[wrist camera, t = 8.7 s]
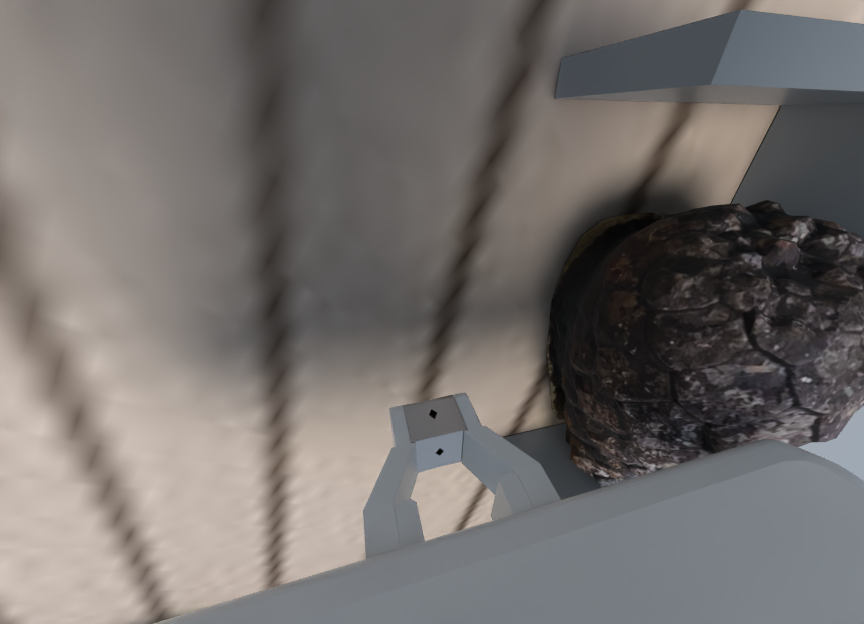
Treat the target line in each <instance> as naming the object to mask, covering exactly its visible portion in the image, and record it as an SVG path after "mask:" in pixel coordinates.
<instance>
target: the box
mask: <svg viewBox="0 0 864 624" xmlns="http://www.w3.org/2000/svg"><path fill="white" fill-rule="evenodd" d="M554 99H585V100H619V101H653V102H687V103H721V104H755V105H782V106H781V108H780V110H779V112H778V114H777V116H776V118H775V119H774V121H773V123H772V125H771V127H770V129H769V131H768V133H767V135H766V137H765V139H764V141H763V143H762V145H761V147H760V149H759V150H758V152H757V154H756V156H755V158H754V160H753V162H752V164H751V166H750V168H749V170H748V172H747V174H746V176H745V178H744V180H743V181H742V183H741V185H740V187H739V189H738V191H737V193H736V195H735V197H734V199H733V201H732V203H731V204H737V203H739V204H740V205H742V206H743V207H747V206H750V205H753V204H756V203H758V202H761V201H765V200H769V201H773V202H776V203H780V205H781V206H782V208H783V209H784V211H785V212H786V214H788V215H791V216H810V217H811V218H812V219H821V220H826V221H831V222H836V223H837V224H839V225H841V226H843V227H844V228H845V229H846V231H847V232H852V233H856V234H857V235H859V236H860V237H861V238H862V239H864V24H859V23H850V22H842V21H833V20H825V19H816V18H808V17H799V16H791V15H782V14H774V13H765V12H757V11H748V10H738V11H734V12H730V13H727V14H723V15H719V16H715V17H712V18H708V19H704V20H701V21H697V22H693V23H690V24H686V25H682V26H679V27H675V28H671V29H667V30H664V31H660V32H656V33H653V34H649V35H645V36H642V37H638V38H634V39H630V40H627V41H623V42H619V43H616V44H612V45H608V46H605V47H601V48H597V49H593V50H590V51H586V52H582V53H579V54H575V55H571V56H568V57H564V58H562V60H561V66H560V71H559V77H558V82H557V88H556V93H555V98H554ZM565 432H566V423H563V424H559V425H555V426H550V427H546V428H542V429H537V430H533V431H529V432H524V433H520V434H516V435H512V436H507V437H503V438H504V439H505V440H507V441H508V442H510V443H511V444H513V445H514V446H515V447H517V448H518V449H520V450H521V451H523V452H524V453H526V454H527V455H528V456H530V457H531V458H533V459H534V460H536V461H537V462H539V463H540V464H541V466H542V468H543V469H544V471H545V473H546V475H547V476H548V478H549V480H550V482H551V483H552V485H553V487H554V488H555V490H556V492H557V494H558V495H559V497H560V499H561V500H563V499H566V498H569V497H573V496H576V495H579V494H583V493H586V492H589V491H593V490H596V489H599V488H601V487H600V485H599V484H598V483H597V481H596V480H595V479H594V477H592V476H590V475H588V474H587V473H585V472H584V471H582V470H581V469H579V468H578V467H577V466H576V465H575V464H574V463H573V462H572V461H571V460H570V452H571V447H570V445H569V444H568V443H567V442H566V434H565Z"/></svg>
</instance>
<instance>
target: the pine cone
mask: <svg viewBox="0 0 864 624" xmlns="http://www.w3.org/2000/svg"><path fill="white" fill-rule="evenodd" d="M547 362H548V370H549V381H550V393H551V402H552V410H553V411H554V412H555V413H557V417H558V418H559V419H564V420H565V423H566V432H565V434H566V442H567V443H568V444H569V445H570V447H571V452H570V460H571V461H572V462H573V463H574V464H575V465H576V466H577V467H578V468H579V469H581V470H582V471H584V472H585V473H587V474H588V475H590V476H592V477H594V479H595V480H596V481H597V483H598V484H599V485H600V487H601V488H603V487H606V486H609V485H612V484H616V483H619V482H622V481H626V480H629V479H632V478H636V477H639V476H642V475H645V474H649V473H652V472H655V471H659V470H662V469H665V468H668V467H672V466H675V465H678V464H682V463H685V462H688V461H692V460H695V459H698V458H701V457H705V456H708V455H711V454H715V453H718V452H721V451H725V450H728V449H731V448H735V447H738V446H741V445H744V444H748V443H751V442H754V441H757V440H762V439H776V440H779V441H782V442H785V443H788V444H790V445H793V446H795V447H799V446H803V445H805V444H808V443H810V442H826V441H829V440H832V439H834V438H837V436H838V435H839V434H840V432H841V431H842V430H843V428H844V427H845V425H846V424H847V423H848V421H849V420H850V418H851V417H852V416H853V414H854V413H855V412H856V411H857V410H859V409H860V408H861V407H863V406H864V239H862V238H861V237H860V236H859V235H857V234H856V233H852V232H847V231H846V229H845V228H844V227H843V226H841V225H839V224H837V223H836V222H831V221H826V220H821V219H812V218H811V217H810V216H791V215H788V214H786V212H785V211H784V209H783V208H782V206H781V205H780V203H776V202H773V201H769V200H765V201H761V202H758V203H756V204H753V205H750V206H747V207H743V206H742V205H740V204H739V203H737V204H726V205H716V206H708V207H702V208H697V209H692V210H689V211H687V212H683V213H676V214H670V215H666V216H664V217H663V218H661V217H660V216H658V215H656V214H654V213H638V214H627V215H619V216H616V217H612V218H609V219H605V220H602V221H601V222H600V223H598V224H597V225H596V226H594V227H593V228H592V229H590V230H589V231H588V232H586V233H585V234H584V235H582V236H581V238H580V240H579V242H578V243H577V245H576V247H575V249H574V250H573V252H572V253H571V255H570V257H569V258H568V260H567V262H566V263H565V266H564V269H563V272H562V275H561V277H560V280H559V282H558V285H557V288H556V291H555V294H554V297H553V300H552V307H551V315H550V330H549V337H548V348H547ZM561 412H563V414H561Z"/></svg>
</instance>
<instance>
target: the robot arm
mask: <svg viewBox="0 0 864 624" xmlns="http://www.w3.org/2000/svg"><path fill="white" fill-rule="evenodd" d="M389 412H390V420H391V429H392V436H393V443H394V447H393V448H391V450H390V453H389V455H388V457H387V459H386V462H385V464H384V466H383V468H382V470H381V473H380V475H379V477H378V479H377V481H376V484H375V486H374V488H373V490H372V492H371V495H370V497H369V499H368V501H367V504H366V506H365V508H364V510H363V516H364V534H365V552H366V559H365V560H361V561H358V562H355V563H352V564H348V565H345V566H342V567H338V568H335V569H332V570H329V571H325V572H322V573H319V574H315V575H312V576H309V577H305V578H302V579H299V580H296V581H292V582H289V583H286V584H282V585H279V586H276V587H272V588H269V589H266V590H263V591H259V592H256V593H253V594H249V595H246V596H243V597H239V598H236V599H233V600H230V601H226V602H223V603H220V604H216V605H213V606H210V607H207V608H203V609H200V610H197V611H193V612H190V613H187V614H183V615H180V616H177V617H174V618H170V619H167V620H164V621H160V622H157V623H154V624H864V481H863V480H861V479H860V478H858V477H857V476H856V475H854V474H853V473H851V472H850V471H848V470H846V469H845V468H843V467H841V466H839V465H838V464H836V463H833V462H831V461H829V460H827V459H825V458H822V457H820V456H817V455H815V454H813V453H810V452H808V451H805V450H803V449H800V448H798V447H795V446H793V445H790V444H788V443H785V442H782V441H779V440H776V439H762V440H757V441H754V442H751V443H748V444H744V445H741V446H738V447H735V448H731V449H728V450H725V451H721V452H718V453H715V454H711V455H708V456H705V457H701V458H698V459H695V460H692V461H688V462H685V463H682V464H678V465H675V466H672V467H668V468H665V469H662V470H659V471H655V472H652V473H649V474H645V475H642V476H639V477H636V478H632V479H629V480H626V481H622V482H619V483H616V484H612V485H609V486H606V487H603V488H599V489H596V490H593V491H589V492H586V493H583V494H579V495H576V496H573V497H569V498H566V499H563V500H561V499H560V497H559V495H558V494H557V492H556V490H555V488H554V487H553V485H552V483H551V482H550V480H549V478H548V476H547V475H546V473H545V471H544V469H543V468H542V466H541V464H540V463H539V462H537V461H536V460H534V459H533V458H531V457H530V456H528V455H527V454H526V453H524V452H523V451H521V450H520V449H518V448H517V447H515V446H514V445H513V444H511V443H510V442H508V441H507V440H505V439H504V438H503V437H501V436H500V435H498V434H497V433H495V432H494V431H492V430H491V429H490V428H488V427H487V426H483V427H482V425H481V423H480V421H479V419H478V417H477V415H476V412H475V410H474V408H473V406H472V404H471V402H470V400H469V397H468V395H467V394H466V393H460V394H456V395H450V396H445V397H441V398H436V399H431V400H428V401H424V402H418V403H413V404H407V405H403V406H397V407H391V408H389ZM458 462H462V464H463V465H465V466H466V467H467V468H468V469H469V470H470V471H471V472H472V473H473V474H474V475H475V476H476V477H477V478H478V479H479V480H480V481H481V482H482V483H483V484H484V485H485V486H486V487H487V488H488V489H489V490H491V491H492V492H493V493H494V494H495V499H494V504H493V508H492V513H491V517H492V520H493V521H490V522H487V523H484V524H480V525H477V526H474V527H470V528H467V529H464V530H460V531H457V532H454V533H451V534H447V535H444V536H441V537H437V538H434V539H431V540H427V541H425V540H424V535H423V530H422V526H421V521H420V516H419V512H418V507H417V502H415V501H413V500H412V499H410V498H411V495H412V492H413V488H414V485H415V482H416V479H417V475H418V473H419V472H422V471H426V470H429V469H433V468H436V467H440V466H444V465H449V464H453V463H458Z"/></svg>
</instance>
